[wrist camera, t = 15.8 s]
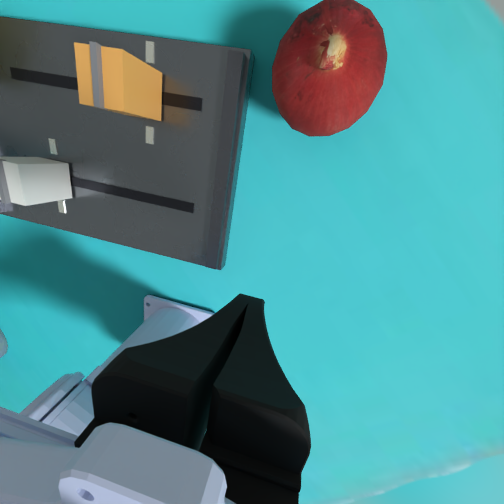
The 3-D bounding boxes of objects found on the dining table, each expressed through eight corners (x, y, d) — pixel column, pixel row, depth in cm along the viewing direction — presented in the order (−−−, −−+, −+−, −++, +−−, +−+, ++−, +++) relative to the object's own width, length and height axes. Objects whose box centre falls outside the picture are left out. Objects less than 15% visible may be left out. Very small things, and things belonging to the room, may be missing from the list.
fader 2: (161, 121, 18) (120, 111, 14) (124, 115, 18) (74, 103, 14) (162, 72, 17) (117, 45, 13) (123, 66, 17) (68, 38, 13)
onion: (267, 68, 17) (237, -4, 9) (355, 20, 15) (402, -114, 8) (294, 153, 18) (285, 149, 11) (376, 119, 16) (432, 87, 9)
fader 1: (72, 198, 22) (20, 207, 18) (44, 192, 22) (-13, 199, 18) (68, 162, 21) (11, 163, 17) (38, 156, 21) (-24, 155, 17)
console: (224, 264, 23) (217, 274, 21) (9, 210, 26) (-13, 214, 24) (254, 56, 17) (247, 44, 15) (-33, 17, 20) (-68, 3, 18)
